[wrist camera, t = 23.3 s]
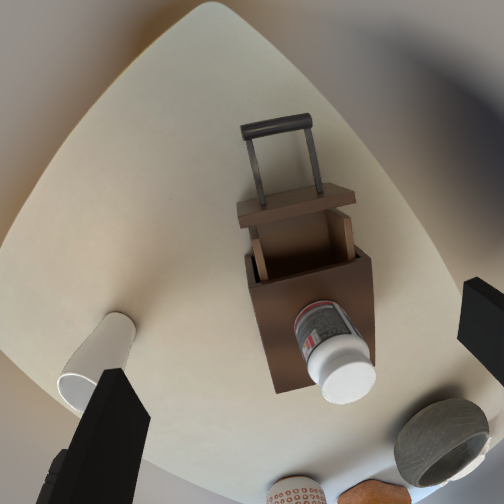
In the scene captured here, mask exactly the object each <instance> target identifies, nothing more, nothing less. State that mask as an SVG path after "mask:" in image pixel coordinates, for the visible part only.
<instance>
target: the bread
mask: <svg viewBox="0 0 504 504" xmlns="http://www.w3.org/2000/svg"><path fill="white" fill-rule="evenodd" d="M411 501H412V500H411V497H410V494H409V492H408V490H407V489H406V488H404V487H400V486H395V485H392V484H385V483H382V482H380V481H377V480H369V481H365V482H362V483H360V484H359V485H357V486H355V487H353V488H352V489H350V490H349V491H347V492H345V493H343V494H342V495H341V496H339V498H338V501H337V504H411Z"/></svg>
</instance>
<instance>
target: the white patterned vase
mask: <svg viewBox="0 0 504 504" xmlns="http://www.w3.org/2000/svg"><path fill="white" fill-rule="evenodd" d="M266 504H327V503H326V498H325V494H324V491H323V489H322V488H321V486H320V485H319V484H318V483H317V482H315V481H314V480H312V479H310V478H309V477H306V476H290V477H286V478H283V479H280V480H279V481H277V482H276V483H275V484H274V485H273V486H272V487H271V489H270V490H269V492H268V493H267V496H266Z"/></svg>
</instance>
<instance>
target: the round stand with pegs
mask: <svg viewBox="0 0 504 504" xmlns="http://www.w3.org/2000/svg"><path fill="white" fill-rule="evenodd" d="M491 439H492V436H491V435H490V433H489V438H488V440H487V442H486V444H485V446H484V448H483V449H482V451H481V452H480V454H479V455H478V457H477V458H476V459H474V460H473V461H472V462H471V463H470V464H468V465H467V466H466V467H465V468H464V469H463V470H461V471H460V472H459V473H457V474H456V475H454V476H453V477H451V478H450V479H448V480H446V481H444V482H442V483H440V486H441V487H442V486H444V485H446V484H447V481H449V480H458V479H460V478H462V477H464V476H466V475H467V474H469V473H470V472H471V471H473V470H474V469H475V468H476V467H477V466H478V465H479V464H480V463H481V462H482V461H483V460H484V459H485V453H486V452H487V451H488V449H489V447H490V443H491V441H490V440H491Z"/></svg>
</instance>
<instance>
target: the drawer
mask: <svg viewBox="0 0 504 504" xmlns="http://www.w3.org/2000/svg"><path fill="white" fill-rule="evenodd" d="M312 125H313V124H312V118H311V115H310V114H309V113H303V114H297V115H291V116H285V117H280V118H274V119H269V120H264V121H259V122H254V123H249V124H245V125H241V126H240V129H241V134H242V138H243V140H244V141H246V145H247V150H248V154H249V158H250V163H251V167H252V171H253V176H254V180H255V184H256V189H257V193H258V198H256V199H252V200H247V201H243V202H239V203H236V205H237V214H238V220H239V224H240V228H241V229H242V228H247V227H248V229H249V233H250V238H251V242H252V246H253V250H254V255H255V259H256V263H257V267H258V272H259V276H260V280H261V282H264V281H269V280H273V279H277V278H281V277H285V276H289V275H294V274H298V273H302V272H306V271H310V270H314V269H318V268H322V267H326V266H330V265H334V264H338V263H342V262H346V261H350V260H353V259H356V258H355V249H354V241H353V232H352V225H351V217H349V216H348V215H346V214H344V213H343V212H341V211H339V210H337V209H336V208H335V207H340V206H344V205H349V204H354V203H356V200H355V194H354V191H352V190H349V189H347V188H344V187H341V186H338V185H335V184H332V183H326V184H322V182H321V177H320V171H319V166H318V161H317V156H316V151H315V146H314V141H313V137H312V132H311V128H312ZM301 129H304V132H305V137H306V142H307V146H308V151H309V156H310V161H311V166H312V171H313V176H314V181H315V186H311V187H306V188H301V189H297V190H292V191H287V192H283V193H278V194H274V195H269V196H264V191H263V187H262V182H261V178H260V173H259V169H258V165H257V160H256V156H255V152H254V147H253V143H252V139H255V138H259V137H264V136H269V135H274V134H279V133H285V132H290V131H296V130H301Z"/></svg>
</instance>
